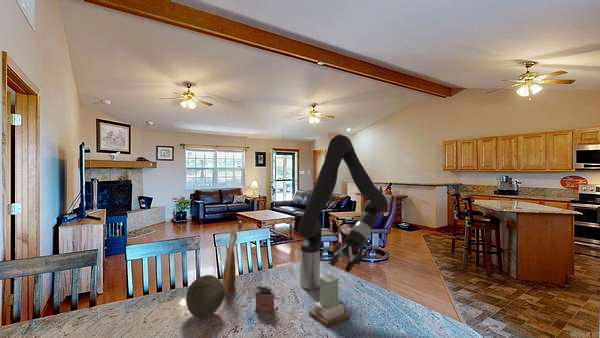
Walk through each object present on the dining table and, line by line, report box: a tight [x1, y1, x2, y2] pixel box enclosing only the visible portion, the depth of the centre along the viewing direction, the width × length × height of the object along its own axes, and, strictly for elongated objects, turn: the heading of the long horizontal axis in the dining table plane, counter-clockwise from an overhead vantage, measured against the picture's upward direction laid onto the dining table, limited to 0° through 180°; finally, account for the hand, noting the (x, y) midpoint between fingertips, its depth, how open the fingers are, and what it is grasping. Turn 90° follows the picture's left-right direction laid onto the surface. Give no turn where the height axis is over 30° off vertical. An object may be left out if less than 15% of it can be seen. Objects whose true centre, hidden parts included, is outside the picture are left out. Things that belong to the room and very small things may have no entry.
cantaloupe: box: [185, 274, 226, 319], centre depth 111 cm, size 14×14×15 cm
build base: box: [308, 301, 350, 328], centre depth 110 cm, size 11×11×4 cm
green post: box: [319, 274, 339, 309], centre depth 110 cm, size 5×5×10 cm
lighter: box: [254, 285, 275, 315], centre depth 114 cm, size 8×3×10 cm, turn 71°
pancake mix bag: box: [222, 225, 238, 295], centre depth 138 cm, size 7×19×28 cm, turn 12°
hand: (338, 268), depth 113 cm, fingers open, 8 cm apart
